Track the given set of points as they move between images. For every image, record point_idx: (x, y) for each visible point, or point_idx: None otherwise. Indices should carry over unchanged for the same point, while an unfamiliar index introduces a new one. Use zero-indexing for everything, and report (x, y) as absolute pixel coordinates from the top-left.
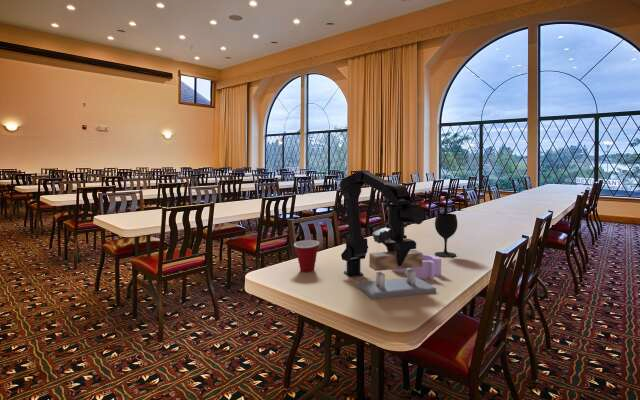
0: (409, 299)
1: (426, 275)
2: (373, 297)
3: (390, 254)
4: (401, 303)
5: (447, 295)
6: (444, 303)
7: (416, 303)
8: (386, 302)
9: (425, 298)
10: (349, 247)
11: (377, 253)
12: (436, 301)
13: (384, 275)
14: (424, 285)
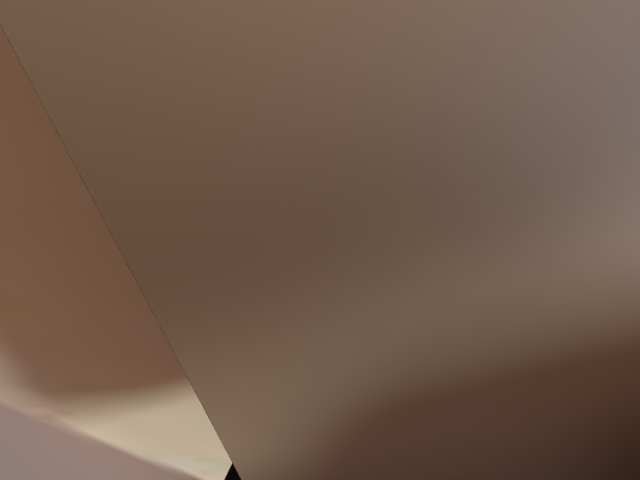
0: (119, 275)
1: None
2: None
3: (368, 459)
4: (16, 207)
5: (215, 458)
6: (80, 430)
7: (43, 301)
8: (8, 90)
9: (153, 363)
10: None
11: (629, 73)
12: (107, 403)
13: None
14: None
